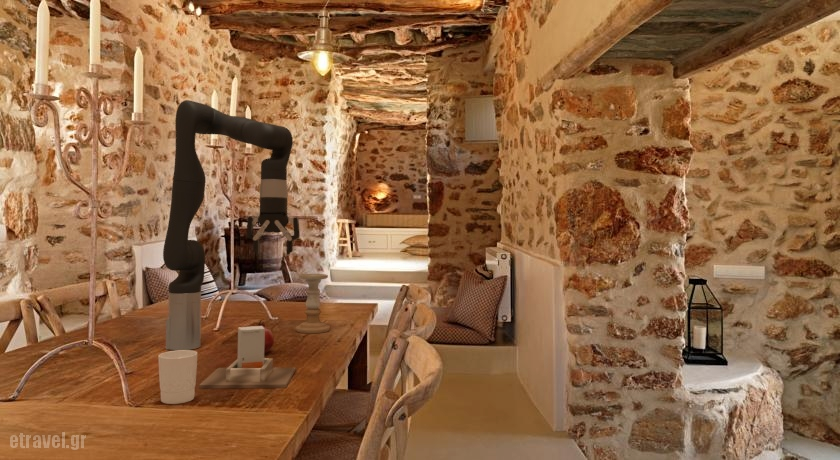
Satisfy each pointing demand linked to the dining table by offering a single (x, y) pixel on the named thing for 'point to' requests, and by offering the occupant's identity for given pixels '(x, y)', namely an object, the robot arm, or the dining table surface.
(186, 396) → the white cup
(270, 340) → the fruit
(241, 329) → the skincare box
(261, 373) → the socket board
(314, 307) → the candle holder
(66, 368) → the dining table surface
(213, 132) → the robot arm
